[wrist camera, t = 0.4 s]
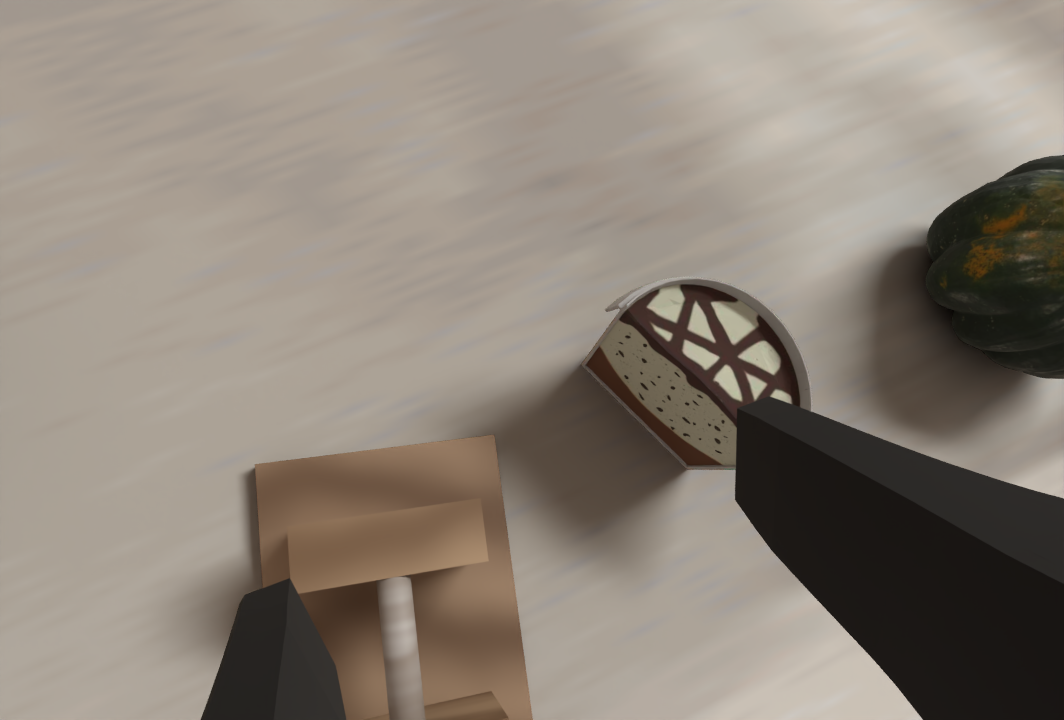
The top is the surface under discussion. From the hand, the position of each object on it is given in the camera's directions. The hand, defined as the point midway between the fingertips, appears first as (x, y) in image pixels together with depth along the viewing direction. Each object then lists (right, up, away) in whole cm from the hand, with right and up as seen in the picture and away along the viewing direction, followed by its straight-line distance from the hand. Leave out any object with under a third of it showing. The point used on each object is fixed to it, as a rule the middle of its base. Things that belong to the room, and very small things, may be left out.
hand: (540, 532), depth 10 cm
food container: (+8, +1, +32) cm, 33 cm away
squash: (+34, +8, +40) cm, 53 cm away
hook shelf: (-7, -12, +25) cm, 29 cm away
